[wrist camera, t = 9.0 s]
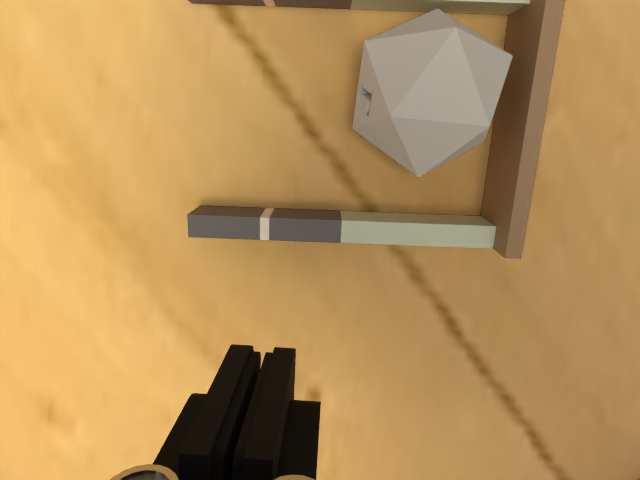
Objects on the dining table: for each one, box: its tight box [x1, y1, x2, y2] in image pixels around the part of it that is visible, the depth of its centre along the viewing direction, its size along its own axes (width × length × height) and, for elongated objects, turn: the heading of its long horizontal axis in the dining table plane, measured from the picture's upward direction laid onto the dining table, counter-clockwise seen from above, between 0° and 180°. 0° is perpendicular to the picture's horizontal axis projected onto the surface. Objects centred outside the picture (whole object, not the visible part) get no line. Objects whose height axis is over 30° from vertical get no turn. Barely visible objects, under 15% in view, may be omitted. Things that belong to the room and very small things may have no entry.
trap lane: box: [187, 0, 565, 259], centre depth 27 cm, size 21×16×5 cm
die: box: [352, 8, 513, 178], centre depth 26 cm, size 8×9×10 cm
